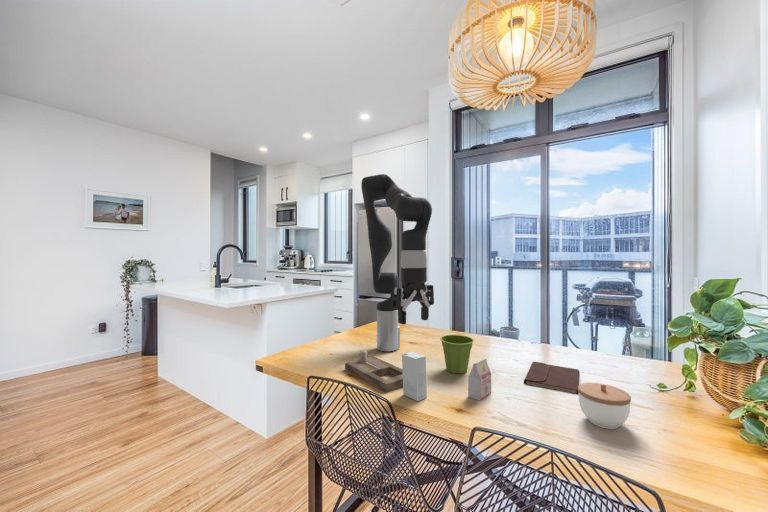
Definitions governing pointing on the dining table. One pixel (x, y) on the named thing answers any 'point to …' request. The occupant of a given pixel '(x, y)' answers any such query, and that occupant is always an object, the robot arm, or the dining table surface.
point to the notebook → (553, 377)
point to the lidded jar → (604, 404)
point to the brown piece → (376, 372)
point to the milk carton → (479, 380)
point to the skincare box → (414, 376)
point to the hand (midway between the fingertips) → (413, 321)
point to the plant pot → (456, 352)
